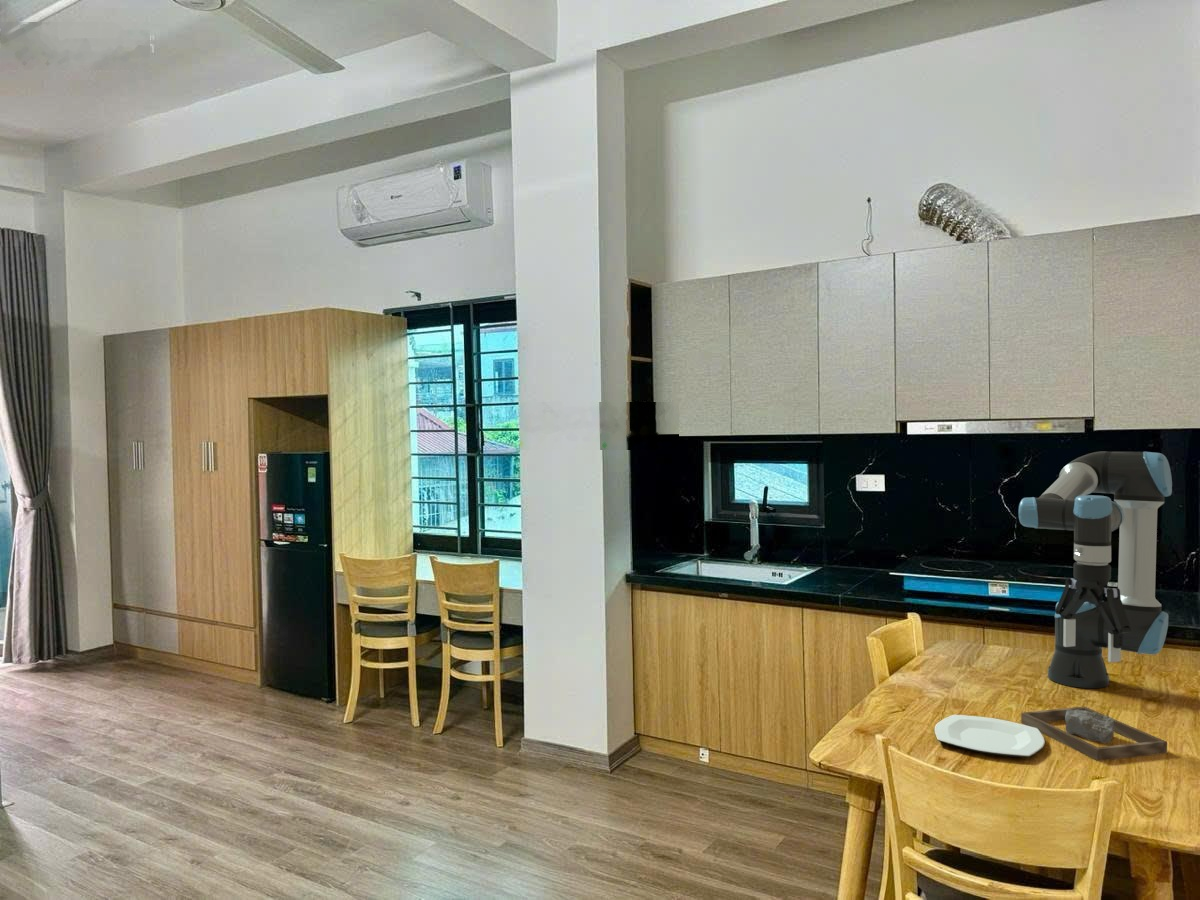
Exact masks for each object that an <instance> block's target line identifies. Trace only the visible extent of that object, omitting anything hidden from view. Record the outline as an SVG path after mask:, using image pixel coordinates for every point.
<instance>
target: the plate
mask: <svg viewBox="0 0 1200 900" xmlns="http://www.w3.org/2000/svg"><path fill="white" fill-rule="evenodd" d="M934 733H935V736H936V738H937V742H942V743H945V744H948V745H951V746H954V747H957V748H961V749H963V750H968V751H972V752H978V753H983V754H989V755H994V756H1002V757H1003V756H1004V757H1015V758H1020V757H1025V758H1029V757H1032V756H1033V755H1035V754H1037V753H1039V752H1040V750H1042V749H1043V747H1044V746H1045V743H1046V742H1045V738H1044V735H1043V733H1041V732H1040V731H1039V730H1038V729H1037V728H1034V727H1030V726H1027V725H1025V724H1023V723H1019V722H1014V721H1010V720H1009V721H1008V720H1005V719H1000V718H999V719H998V718H995V717H994V718H993V717H987V716H977V715H976V716H975V715H964V714H951V715H950V716H947V717H945V718H943V719H941V720H939V721H938V722H937V723H936V724H935V726H934Z"/></svg>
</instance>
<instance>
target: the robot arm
mask: <svg viewBox="0 0 1200 900" xmlns="http://www.w3.org/2000/svg"><path fill="white" fill-rule="evenodd" d="M1171 471H1172V470H1171V466H1170V463H1169V461H1168V459H1167V457H1166V456H1165V455H1164V454H1163V453H1160V452H1154V451H1153V452H1151V451H1105V450H1104V451H1102V450H1101V451H1095V452H1091V453H1087V454H1085V455H1082V456H1079V457H1077V458H1075V459H1073V460H1071V461H1070V462H1068V463H1067V464H1066V465H1065V466H1063V468H1062V469H1061V470H1060V472H1059V474H1058V478H1057V479H1056V480H1055V481H1054V482H1053V483H1052V484H1051V485H1050V486H1049V487H1048V488H1046V490H1045V491H1044V492H1043V493H1042V494H1041V495H1040V496H1039V497H1036V496H1035V497H1034V496H1031V497H1023V498H1022V499H1021V500H1020V502H1019V504H1018V520H1019V523H1020V525H1022V526H1023V527H1026V528H1034V529H1043V530H1044V529H1047V530H1058V531H1059V530H1061V531H1062V530H1063V531H1065V530H1066V531H1073V560H1074V561H1075V562H1074V563H1073V578H1066V579H1065V580H1064V581H1065V582H1064V583H1065V584H1064V589H1063V591H1062V594H1061V596H1060V598H1059V601H1057V602H1056V604H1055V610H1054V612H1055V613H1054V653H1053V654H1052V655H1053V656H1052V658H1051V662H1050V664H1049V666H1048V669H1047V678H1048V679H1049V680H1050V681H1052V682H1055V683H1058V684H1061V685H1063V686H1069V687H1072V688H1073V687H1074V688H1082V689H1099V688H1105V687H1108V686H1109V685H1110V675H1109V673H1108V669H1107V667H1106V664H1105V659H1104V658H1103V648H1105V649H1107V662H1109V663H1119V662H1120V663H1121V662H1122V651H1125V652H1130V653H1131V652H1132V653H1137V654H1139V655H1140V654H1143V655H1145V654H1146V655H1157V654H1159V653H1160V652H1161V650H1162V649H1163V647H1164V644H1165V641H1166V637H1167V633H1168V629H1169V614H1168V612H1166V611H1162V603H1160V602H1159V600H1158V599H1156V577H1157V576H1156V574H1157V573H1156V571H1157V570H1156V569H1157V566H1156V565H1157V540H1158V539H1157V538H1158V537H1157V535H1158V534H1157V533H1158V530H1157V529H1158V509H1159V508H1160V507H1161V506H1163V505H1164V504H1165V497H1166V498H1167V497H1170V496H1172V493H1173V488H1172V487H1173V481H1172V479H1173V478H1172V472H1171ZM1092 493H1097V494H1099V493H1100V494H1112V495H1113V501H1112V498H1110V497H1109V496H1106V495H1105V496H1104V495H1097V494H1096V495H1092ZM1118 529H1119V534H1118V535H1119V537H1118V540H1119V541H1118V569H1117V570H1118V572H1117V573H1118V575H1117V587H1115V588H1112V587H1111V588H1109V585H1108V583H1109V581H1111V580H1112V565H1110V564H1111V562H1112V532H1114V531H1117V530H1118ZM1109 563H1110V564H1109Z"/></svg>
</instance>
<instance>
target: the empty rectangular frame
mask: <svg viewBox="0 0 1200 900" xmlns="http://www.w3.org/2000/svg"><path fill="white" fill-rule="evenodd" d="M1076 709H1079V710H1083V711H1085V710H1086V711H1088V712H1098V711H1096V710H1094V709H1091V708H1089V707H1087V706H1077V707H1065V708H1056V709H1046V710H1036V711H1034V710H1033V711H1025V712H1021V714H1020V719H1021V720H1020V721H1021V722H1020V724H1023V725H1027V726H1030V727H1034V728H1037V729H1038V730H1039V731H1040V733H1041V734H1042V735H1045V736H1047V737H1049V738H1050V739H1053V740H1054V741H1057V742H1059V743H1061V744H1063V745H1064V746H1067V747H1069V748H1071V749H1073V750H1075V751H1077V752H1078V753H1081V754H1083V755H1085V756H1087V757H1088V758H1091V759H1093V760H1095V761H1097V762H1101V761H1109V760H1116V759H1125V758H1127V759H1128V758H1135V757H1143V756H1154V755H1161V754H1162V755H1163V754H1167V753H1168V741H1165V740H1164V739H1162V738H1159V737H1156V736H1155V735H1152V734H1150V733H1148V732H1145V731H1142V730H1141V729H1138V728H1136V727H1133V726H1131V725H1129V724H1126V723H1124V722H1122V721H1120V720H1117V719H1114V718H1113V719H1114V723H1113V724H1114V726H1113V728H1112V729H1113V731H1114V733H1116V734H1119V735H1121V736H1123V737H1125V738H1128V739H1130V740H1131V741H1135V742H1134V743H1125V744H1119V745H1118V744H1116V745H1107V746H1096V745H1094V744H1091V743H1090V742H1088V741H1086V740H1085V739H1084V740H1083V739H1082V738H1080V737H1078V736H1076V735H1074V734H1069V733H1067V731H1066V730H1065V731H1064V730H1062V729H1061V728H1059V727H1056V726H1055V725H1052V724H1051V723H1050V722H1049V721H1051V722H1059V721H1060V722H1061V721H1065V715H1066V711H1067V710H1076ZM1098 713H1099V714H1100V715H1103V716H1105V715H1106V714H1103V713H1100V712H1098Z"/></svg>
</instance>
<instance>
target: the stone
mask: <svg viewBox="0 0 1200 900" xmlns="http://www.w3.org/2000/svg"><path fill="white" fill-rule="evenodd" d="M1099 713H1100V712H1099ZM1099 713H1098V711H1096V712H1088V711H1086V710H1085V711H1083V710H1079V709H1076V710H1067V711H1066V715H1065V720H1064V722H1065V732H1067V733H1069V734H1071V735H1073V736H1077V737H1078V736H1079V737H1080V738H1081V737H1082V738H1083V739H1084V740H1087V741H1091V742H1094V741H1095V742H1097V743H1102V744H1109V743H1111V741H1112V739H1113V738H1114V733H1115V732H1114V731H1113V729H1112V728H1113V726H1114V724H1113V723H1114V718H1113V717H1111V716H1109V715H1106V714H1103V715H1105V716H1103V715H1100V714H1099Z"/></svg>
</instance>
